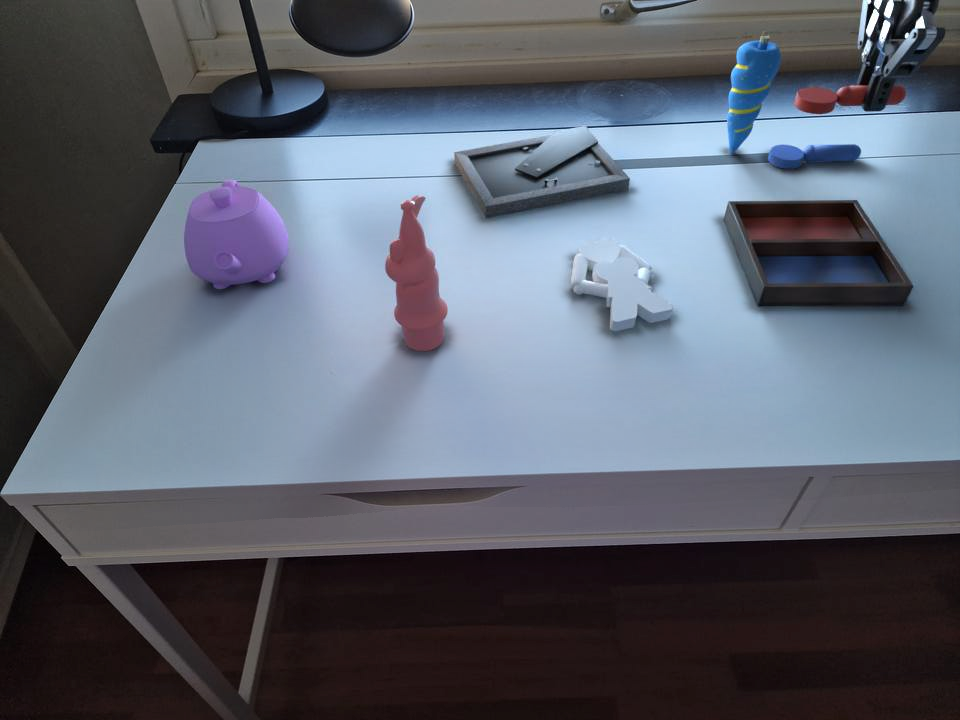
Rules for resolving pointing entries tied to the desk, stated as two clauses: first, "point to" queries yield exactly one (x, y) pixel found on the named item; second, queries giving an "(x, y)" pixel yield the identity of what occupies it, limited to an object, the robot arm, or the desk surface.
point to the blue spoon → (811, 154)
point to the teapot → (234, 236)
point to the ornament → (750, 87)
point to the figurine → (416, 283)
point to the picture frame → (539, 172)
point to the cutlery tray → (814, 254)
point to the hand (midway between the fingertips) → (867, 103)
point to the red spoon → (839, 98)
